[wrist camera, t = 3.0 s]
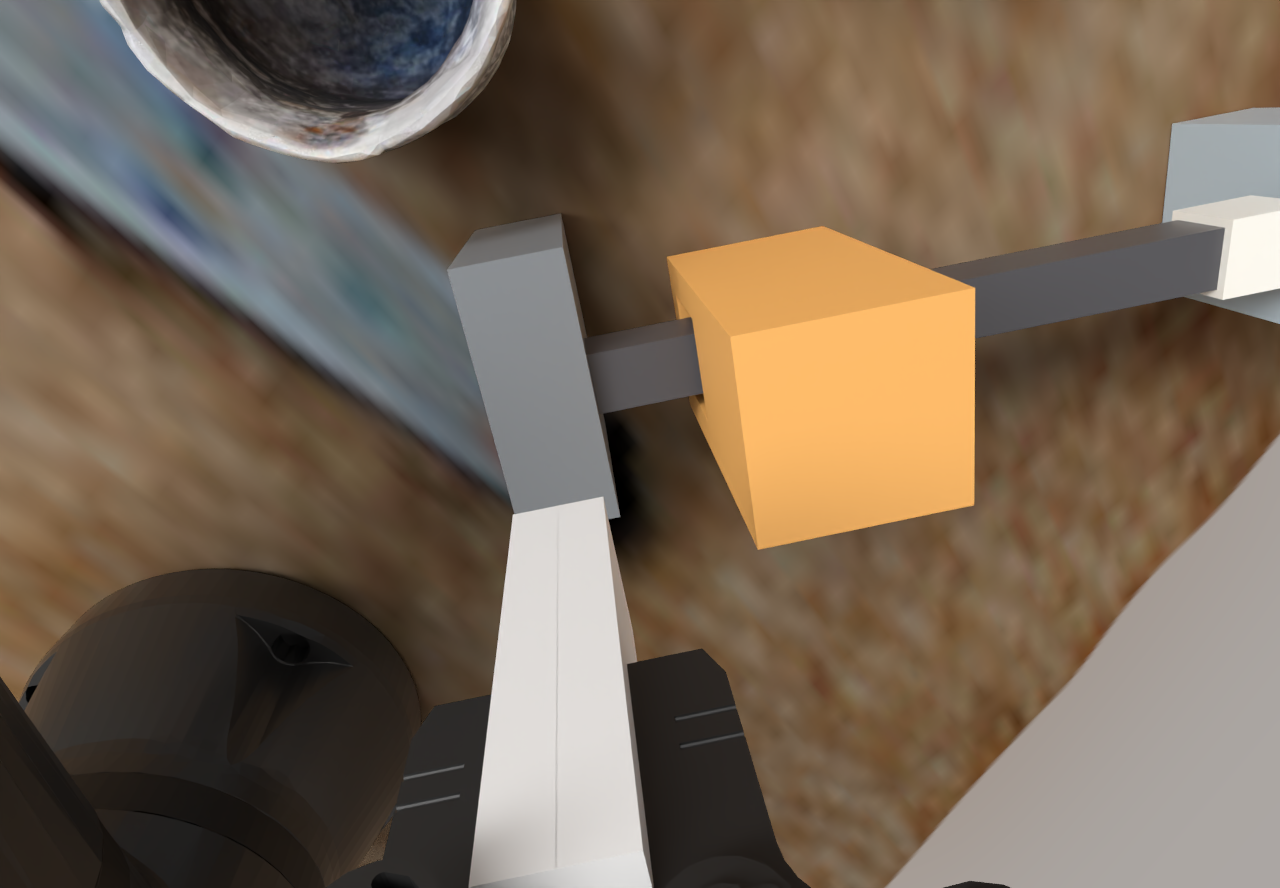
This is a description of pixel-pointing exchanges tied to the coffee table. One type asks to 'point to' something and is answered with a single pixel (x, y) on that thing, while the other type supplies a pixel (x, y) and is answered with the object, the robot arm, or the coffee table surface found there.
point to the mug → (321, 66)
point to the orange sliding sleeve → (830, 381)
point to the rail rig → (1004, 285)
